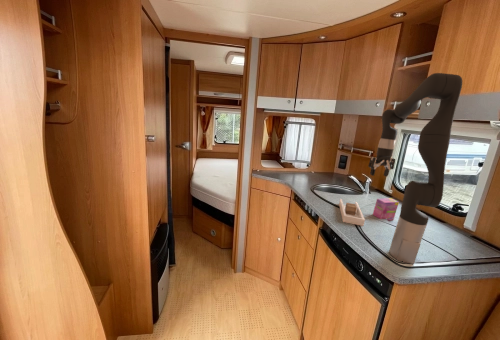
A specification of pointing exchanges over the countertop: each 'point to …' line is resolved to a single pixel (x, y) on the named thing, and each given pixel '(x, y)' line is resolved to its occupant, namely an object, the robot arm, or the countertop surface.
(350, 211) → the block
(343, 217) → the trough
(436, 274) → the countertop surface
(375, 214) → the box
